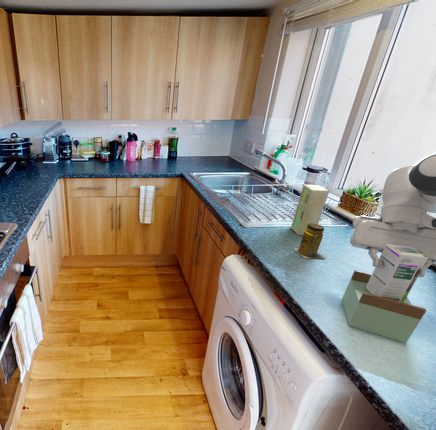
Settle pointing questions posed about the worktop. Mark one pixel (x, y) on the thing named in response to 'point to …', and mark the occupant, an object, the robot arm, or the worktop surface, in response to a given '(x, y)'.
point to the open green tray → (379, 311)
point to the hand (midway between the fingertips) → (397, 271)
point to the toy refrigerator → (309, 207)
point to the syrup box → (396, 272)
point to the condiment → (311, 241)
